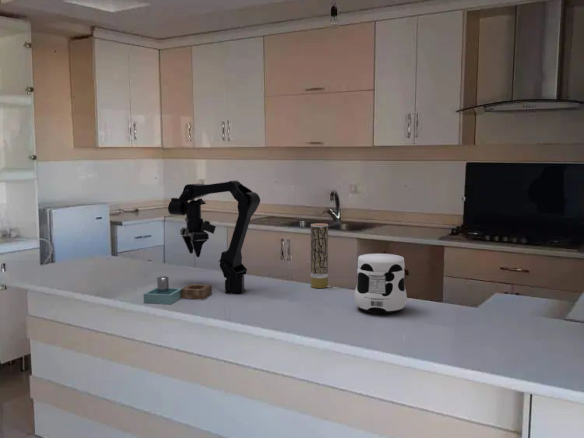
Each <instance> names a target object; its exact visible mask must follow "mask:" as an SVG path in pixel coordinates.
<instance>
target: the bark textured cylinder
mask: <svg viewBox="0 0 584 438" xmlns="http://www.w3.org/2000/svg"><path fill="white" fill-rule="evenodd" d="M328 285H329V224H328V223H322V222H321V223H319V222H318V223H310V287H312V288H315V289H325V288H327V287H328Z"/></svg>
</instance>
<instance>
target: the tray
mask: <svg viewBox="0 0 584 438" xmlns="http://www.w3.org/2000/svg"><path fill="white" fill-rule="evenodd" d="M181 289H182V288H179V287H178V288H177V287H169V295H168V294H158V287H157V286H156V287H154V288H152V289H150V290H148V291H146V292H144V293H143V304H155V303H158V304H159V305H172V304H174V303H175V301H176V302H178V301H179V300H181V299H180V298H181ZM178 299H179V300H178Z"/></svg>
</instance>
